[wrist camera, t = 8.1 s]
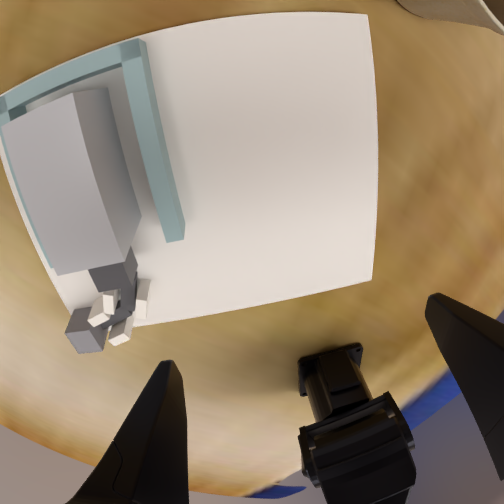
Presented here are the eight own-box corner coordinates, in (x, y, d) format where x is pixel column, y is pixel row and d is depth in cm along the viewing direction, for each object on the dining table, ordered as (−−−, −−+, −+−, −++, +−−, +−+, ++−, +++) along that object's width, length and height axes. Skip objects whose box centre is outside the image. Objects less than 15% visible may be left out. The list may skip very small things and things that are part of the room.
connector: (107, 87, 14) (72, 92, 10) (153, 252, 19) (142, 303, 15) (47, 110, 14) (1, 126, 9) (99, 264, 19) (78, 314, 15)
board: (367, 274, 24) (371, 280, 23) (84, 327, 23) (82, 333, 22) (361, 16, 14) (367, 14, 13) (-6, 101, 13) (-13, 102, 12)
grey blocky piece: (157, 319, 22) (154, 345, 20) (86, 329, 22) (78, 353, 20) (135, 267, 20) (128, 291, 18) (59, 282, 20) (47, 305, 17)
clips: (166, 318, 22) (164, 339, 21) (109, 326, 22) (103, 347, 20) (145, 267, 20) (141, 287, 18) (83, 279, 20) (74, 299, 18)
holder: (145, 42, 13) (138, 37, 11) (185, 223, 19) (183, 239, 17) (10, 97, 13) (-8, 101, 11) (61, 252, 18) (50, 268, 17)
